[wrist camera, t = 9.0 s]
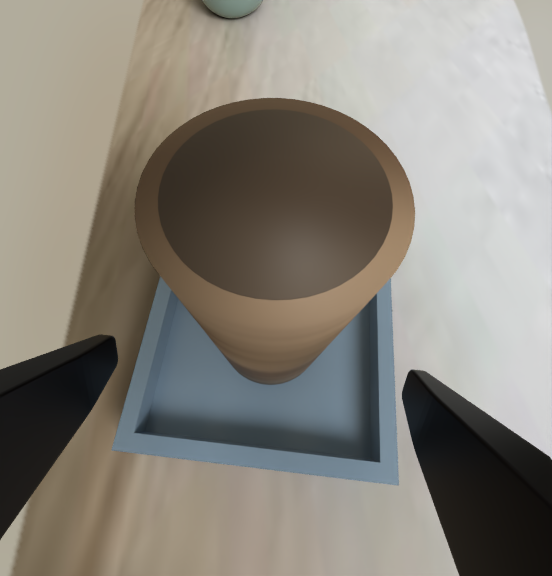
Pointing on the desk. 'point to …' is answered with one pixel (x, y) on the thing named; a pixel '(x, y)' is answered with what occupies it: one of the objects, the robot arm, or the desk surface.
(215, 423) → the desk tray
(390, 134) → the desk surface
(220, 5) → the cup
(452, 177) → the desk surface
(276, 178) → the cup
